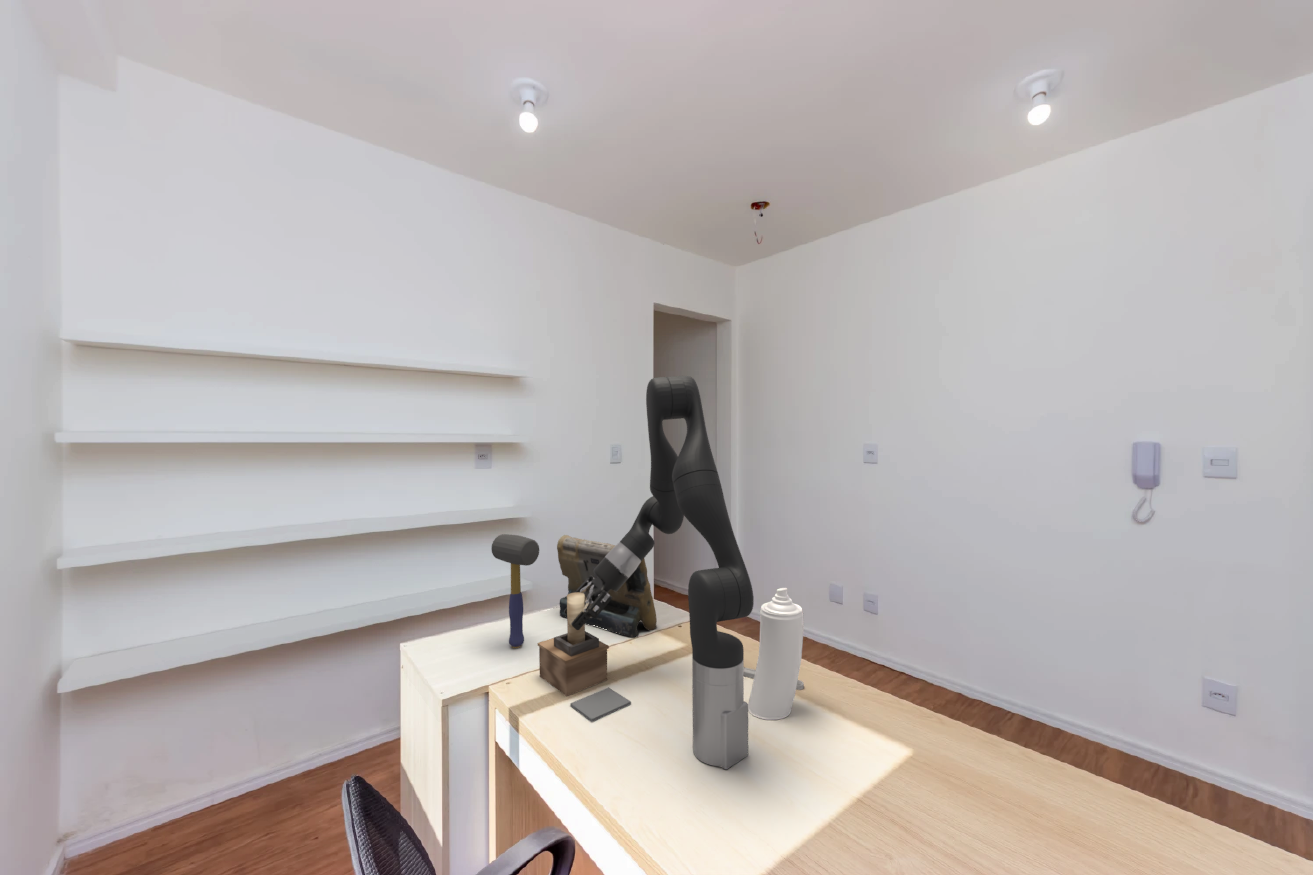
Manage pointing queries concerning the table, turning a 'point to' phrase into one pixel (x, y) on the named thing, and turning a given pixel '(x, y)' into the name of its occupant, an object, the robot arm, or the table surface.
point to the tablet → (625, 603)
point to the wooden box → (573, 663)
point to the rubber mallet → (515, 576)
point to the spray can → (777, 658)
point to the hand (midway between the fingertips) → (570, 620)
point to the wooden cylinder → (573, 610)
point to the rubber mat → (600, 704)
